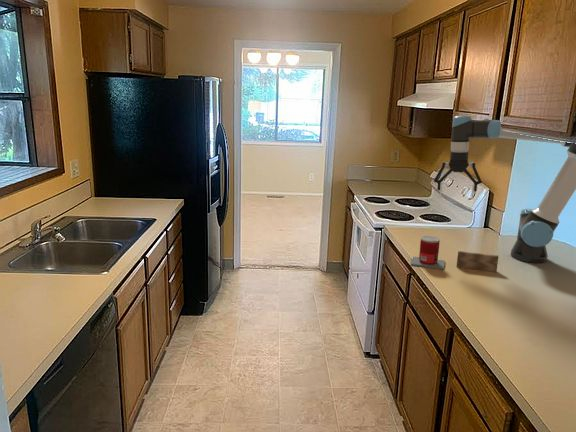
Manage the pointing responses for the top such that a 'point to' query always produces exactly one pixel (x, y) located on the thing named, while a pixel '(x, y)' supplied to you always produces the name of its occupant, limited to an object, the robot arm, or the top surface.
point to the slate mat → (438, 265)
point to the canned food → (429, 250)
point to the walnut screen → (477, 261)
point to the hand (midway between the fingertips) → (456, 198)
